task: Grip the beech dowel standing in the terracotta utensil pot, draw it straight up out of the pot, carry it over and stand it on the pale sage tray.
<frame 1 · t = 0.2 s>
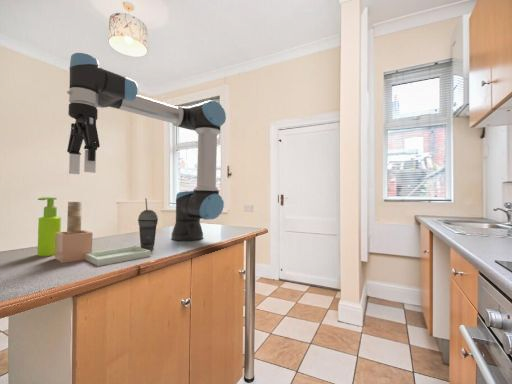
hand: (81, 173, 79), 28 cm above the counter, tool pointing down, fingers open, 13 cm apart
pot: (73, 260, 80), on the counter
tray: (118, 259, 82), on the counter
dowel: (73, 258, 80), point 1 cm above the counter, touching pot
beverage cup: (147, 250, 98), on the counter
soap dispenser: (47, 257, 84), on the counter
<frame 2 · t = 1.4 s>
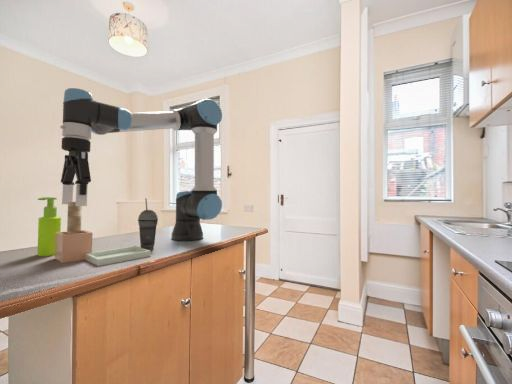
hand: (73, 205, 80), 18 cm above the counter, tool pointing down, fingers open, 13 cm apart
nothing on the counter moved.
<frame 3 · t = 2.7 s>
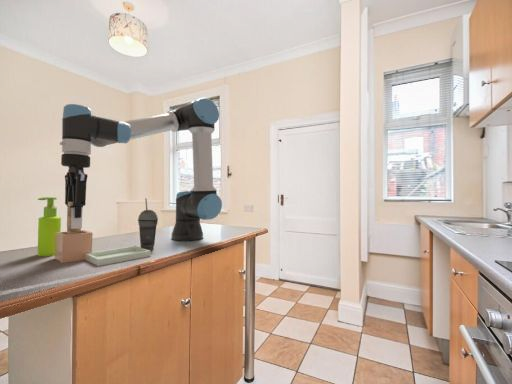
hand: (74, 227, 80), 11 cm above the counter, tool pointing down, fingers closed on dowel, 3 cm apart
dowel: (73, 258, 80), point 1 cm above the counter, touching gripper, pot
everything else where it was.
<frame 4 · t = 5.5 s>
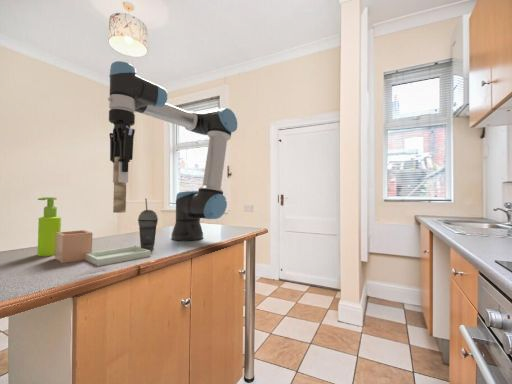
hand: (120, 182, 82), 25 cm above the counter, tool pointing down, fingers closed on dowel, 3 cm apart
dowel: (119, 212, 82), point 16 cm above the counter, touching gripper
everything else where it was.
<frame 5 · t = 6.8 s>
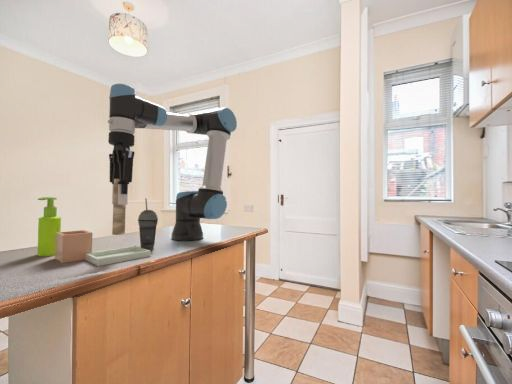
hand: (119, 204, 82), 18 cm above the counter, tool pointing down, fingers closed on dowel, 3 cm apart
dowel: (118, 234, 82), point 8 cm above the counter, touching gripper
everything else where it was.
when the fingers open (12 cm above the counter, at t = 8.1 s): dowel drops 1 cm, resting on tray.
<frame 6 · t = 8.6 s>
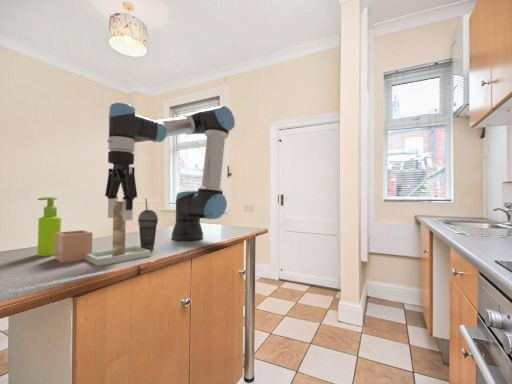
hand: (119, 219, 82), 13 cm above the counter, tool pointing down, fingers open, 10 cm apart
dowel: (118, 256, 82), point 1 cm above the counter, touching tray
everything else where it was.
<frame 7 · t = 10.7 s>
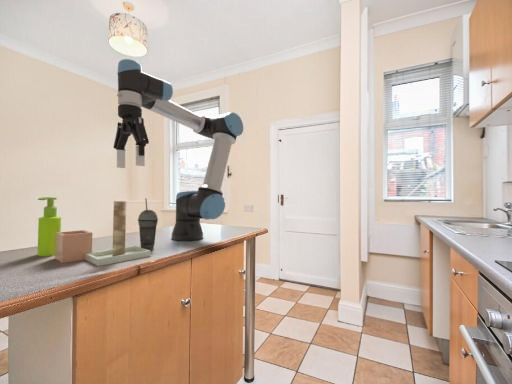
hand: (130, 166, 89), 31 cm above the counter, tool pointing down, fingers open, 13 cm apart
nothing on the counter moved.
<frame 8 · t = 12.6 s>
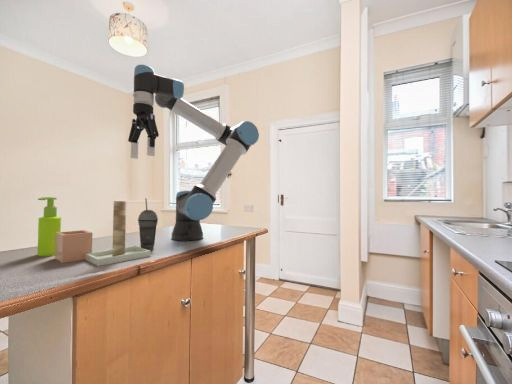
hand: (142, 157, 102), 37 cm above the counter, tool pointing down, fingers open, 13 cm apart
nothing on the counter moved.
at the end: dowel inside the target area on the tray (0.0 cm from its centre), point 1.2 cm above the tray's base; dowel touching tray; the gripper is holding nothing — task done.
